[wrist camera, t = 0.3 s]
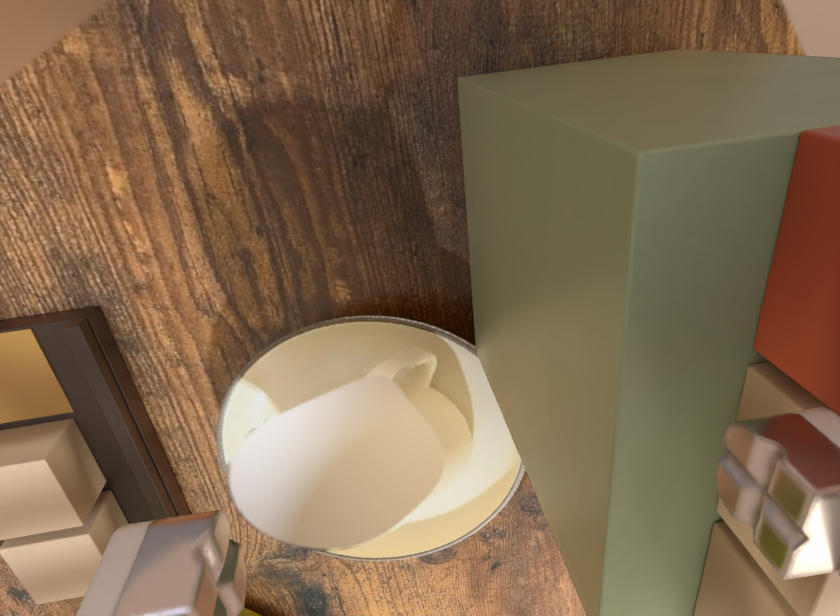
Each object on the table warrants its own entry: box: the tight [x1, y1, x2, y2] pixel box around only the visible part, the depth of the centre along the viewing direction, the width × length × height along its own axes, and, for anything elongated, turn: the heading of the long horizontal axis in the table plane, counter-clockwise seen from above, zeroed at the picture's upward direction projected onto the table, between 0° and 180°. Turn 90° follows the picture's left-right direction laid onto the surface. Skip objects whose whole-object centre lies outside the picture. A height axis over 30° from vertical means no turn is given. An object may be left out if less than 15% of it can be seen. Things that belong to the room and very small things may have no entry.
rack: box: [0, 306, 191, 605], centre depth 27 cm, size 16×10×4 cm, turn 6°
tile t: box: [693, 521, 798, 616], centre depth 13 cm, size 4×4×3 cm
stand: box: [457, 49, 840, 616], centre depth 19 cm, size 14×10×16 cm
